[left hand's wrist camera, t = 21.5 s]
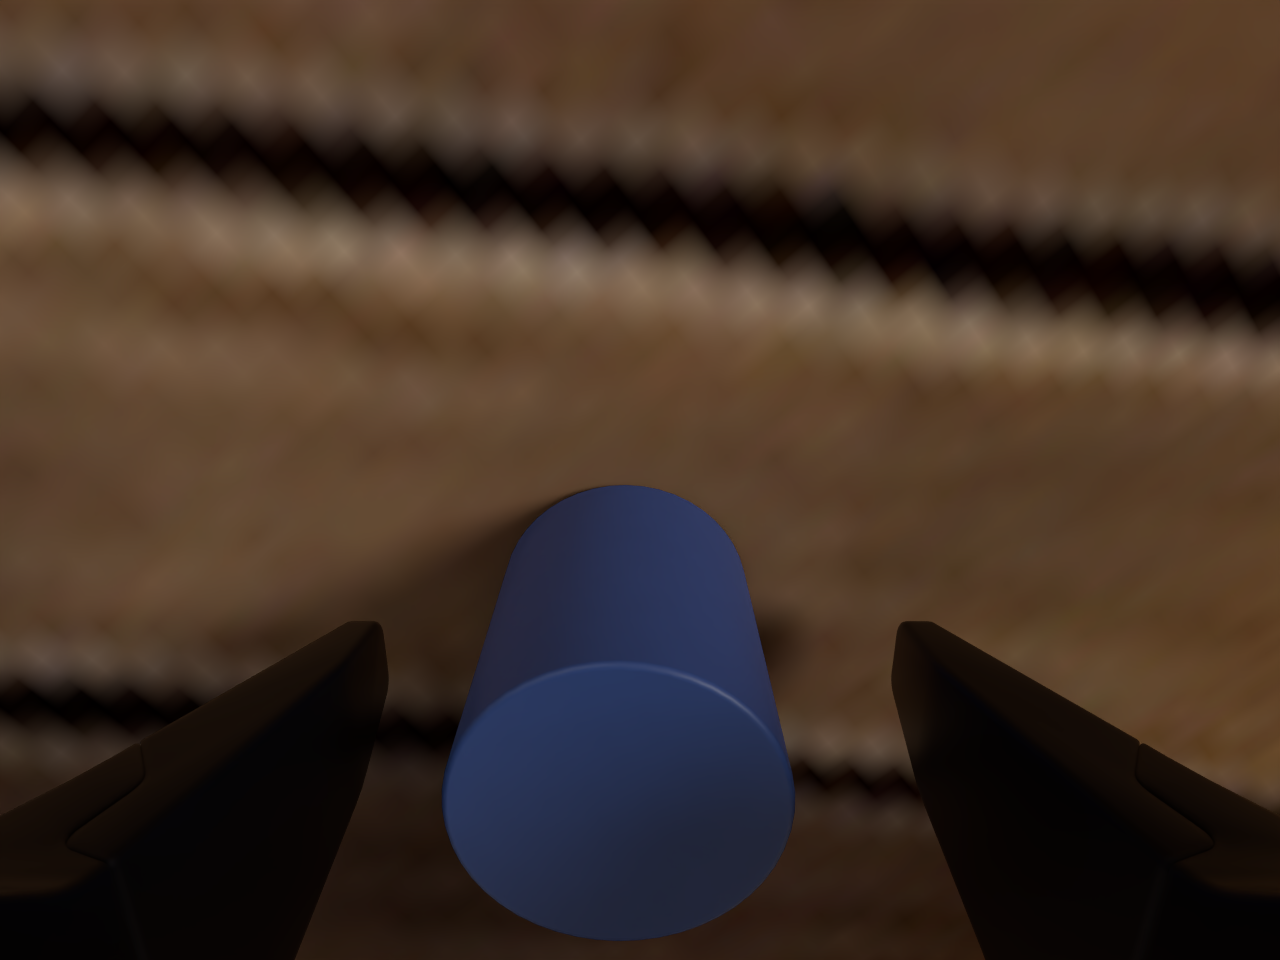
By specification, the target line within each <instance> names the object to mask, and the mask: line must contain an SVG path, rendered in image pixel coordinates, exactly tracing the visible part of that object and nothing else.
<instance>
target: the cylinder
mask: <svg viewBox="0 0 1280 960" xmlns="http://www.w3.org/2000/svg"><path fill="white" fill-rule="evenodd" d="M442 811H443V816H444V822H445V827H446V830H447V833H448V836H449V839H450V842H451V845H452V847H453V849H454V851H455V853H456V855H457V857H458V859H459V860H460V862H461V864H462V865H463V867H464V868H465V869H466V871H467V872H468V873H469V875H470V876H471V878H472V879H473V880H474V881H475V882H476V883H477V884H478V885H479V886H480V887H481V888H482V889H483V890H484V891H485V892H486V893H487V894H488V895H490V896H491V897H492V898H493V899H494V900H496V901H497V902H498V903H499V904H501V905H502V906H504V907H505V908H507V909H509V910H510V911H512V912H513V913H515V914H516V915H518V916H520V917H522V918H524V919H526V920H528V921H530V922H532V923H534V924H537V925H540V926H542V927H545V928H548V929H550V930H553V931H556V932H560V933H564V934H568V935H572V936H576V937H582V938H589V939H595V940H611V941H629V940H644V939H651V938H658V937H663V936H668V935H672V934H676V933H680V932H683V931H686V930H689V929H692V928H695V927H698V926H700V925H702V924H705V923H707V922H709V921H711V920H713V919H715V918H717V917H719V916H721V915H723V914H724V913H726V912H727V911H729V910H731V909H732V908H734V907H736V906H737V905H738V904H739V903H741V902H742V901H743V900H744V899H746V898H747V897H748V896H749V895H751V894H752V893H753V892H754V891H755V890H756V889H757V888H758V887H759V886H760V885H761V884H762V883H763V882H764V880H765V879H766V878H767V876H768V875H769V874H770V872H771V871H772V870H773V868H774V867H775V866H776V864H777V862H778V860H779V858H780V856H781V854H782V853H783V851H784V848H785V846H786V843H787V840H788V837H789V835H790V832H791V829H792V823H793V818H794V813H795V789H794V782H793V775H792V771H791V767H790V763H789V758H788V754H787V750H786V746H785V742H784V737H783V733H782V729H781V725H780V721H779V717H778V712H777V708H776V704H775V700H774V696H773V691H772V687H771V683H770V679H769V675H768V671H767V666H766V662H765V658H764V654H763V650H762V645H761V641H760V637H759V633H758V629H757V625H756V620H755V616H754V612H753V608H752V604H751V599H750V595H749V591H748V587H747V583H746V579H745V574H744V570H743V567H742V564H741V561H740V558H739V555H738V553H737V551H736V549H735V547H734V545H733V543H732V542H731V540H730V539H729V537H728V536H727V534H726V533H725V531H724V530H723V529H722V528H721V527H720V526H719V525H718V524H717V523H716V521H715V520H714V519H712V518H711V517H710V516H709V515H708V514H706V513H705V512H704V511H703V510H701V509H700V508H698V507H697V506H695V505H694V504H692V503H691V502H689V501H687V500H685V499H683V498H680V497H678V496H676V495H674V494H671V493H668V492H665V491H662V490H658V489H653V488H648V487H643V486H630V485H620V486H607V487H601V488H595V489H591V490H588V491H584V492H581V493H578V494H575V495H573V496H571V497H569V498H566V499H564V500H562V501H561V502H559V503H557V504H556V505H554V506H552V507H551V508H549V509H548V510H547V511H545V512H544V513H543V514H542V515H540V516H539V517H538V518H537V519H536V520H535V521H534V522H533V523H532V524H531V525H530V526H529V527H528V528H527V530H526V531H525V532H524V534H523V535H522V537H521V538H520V540H519V541H518V543H517V545H516V547H515V549H514V551H513V553H512V555H511V558H510V561H509V564H508V567H507V570H506V573H505V577H504V580H503V583H502V586H501V590H500V593H499V596H498V599H497V603H496V606H495V609H494V612H493V616H492V619H491V622H490V625H489V629H488V632H487V635H486V638H485V642H484V645H483V648H482V651H481V655H480V658H479V661H478V664H477V668H476V671H475V674H474V677H473V681H472V684H471V687H470V690H469V694H468V697H467V700H466V703H465V707H464V710H463V713H462V716H461V720H460V723H459V726H458V729H457V733H456V736H455V739H454V742H453V746H452V749H451V752H450V755H449V759H448V762H447V765H446V768H445V772H444V779H443V785H442Z"/></svg>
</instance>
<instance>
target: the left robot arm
mask: <svg viewBox="0 0 1280 960" xmlns="http://www.w3.org/2000/svg"><path fill="white" fill-rule="evenodd" d="M891 681H892V691H893V695H894V699H895V703H896V706H897V710H898V714H899V718H900V722H901V726H902V730H903V733H904V737H905V741H906V745H907V749H908V753H909V756H910V760H911V764H912V768H913V772H914V775H915V779H916V782H917V786H918V789H919V792H920V795H921V797H922V800H923V803H924V806H925V808H926V811H927V813H928V816H929V818H930V821H931V823H932V826H933V828H934V831H935V833H936V836H937V838H938V841H939V843H940V846H941V849H942V851H943V854H944V856H945V859H946V861H947V864H948V866H949V869H950V871H951V874H952V876H953V879H954V881H955V884H956V886H957V889H958V891H959V894H960V896H961V899H962V902H963V904H964V907H965V909H966V912H967V914H968V917H969V919H970V922H971V924H972V927H973V929H974V932H975V934H976V937H977V939H978V942H979V944H980V947H981V949H982V952H983V955H984V957H985V960H1280V816H1279V815H1277V814H1275V813H1273V812H1271V811H1269V810H1267V809H1265V808H1263V807H1261V806H1259V805H1257V804H1255V803H1253V802H1251V801H1249V800H1247V799H1246V798H1244V797H1242V796H1240V795H1238V794H1236V793H1234V792H1232V791H1230V790H1228V789H1226V788H1224V787H1222V786H1220V785H1218V784H1216V783H1214V782H1212V781H1210V780H1208V779H1207V778H1205V777H1203V776H1201V775H1199V774H1198V773H1196V772H1194V771H1192V770H1190V769H1189V768H1187V767H1185V766H1183V765H1181V764H1179V763H1178V762H1176V761H1174V760H1172V759H1170V758H1169V757H1167V756H1165V755H1163V754H1162V753H1160V752H1158V751H1157V750H1155V749H1153V748H1151V747H1150V746H1148V745H1146V744H1140V743H1139V741H1138V740H1137V739H1135V738H1134V737H1132V736H1130V735H1128V734H1127V733H1125V732H1123V731H1121V730H1120V729H1118V728H1116V727H1114V726H1113V725H1111V724H1109V723H1107V722H1106V721H1104V720H1102V719H1101V718H1099V717H1097V716H1095V715H1094V714H1092V713H1090V712H1088V711H1087V710H1085V709H1083V708H1081V707H1080V706H1078V705H1076V704H1074V703H1073V702H1071V701H1069V700H1067V699H1066V698H1064V697H1062V696H1060V695H1059V694H1057V693H1055V692H1053V691H1052V690H1050V689H1048V688H1046V687H1045V686H1043V685H1041V684H1039V683H1038V682H1036V681H1034V680H1032V679H1031V678H1029V677H1027V676H1025V675H1024V674H1022V673H1020V672H1018V671H1017V670H1015V669H1013V668H1011V667H1010V666H1008V665H1006V664H1004V663H1003V662H1001V661H999V660H998V659H996V658H994V657H992V656H991V655H989V654H987V653H985V652H984V651H982V650H980V649H978V648H977V647H975V646H973V645H971V644H970V643H968V642H966V641H964V640H963V639H961V638H959V637H957V636H956V635H954V634H952V633H950V632H949V631H947V630H945V629H943V628H942V627H940V626H938V625H936V624H935V623H933V622H929V621H906V622H902V623H901V624H900V625H899V627H898V630H897V636H896V643H895V651H894V659H893V667H892V675H891ZM388 682H389V675H388V666H387V658H386V651H385V643H384V635H383V630H382V627H381V625H380V624H379V623H378V622H374V621H351V622H347V623H345V624H344V625H342V626H340V627H338V628H337V629H335V630H333V631H331V632H330V633H328V634H326V635H324V636H323V637H321V638H319V639H317V640H316V641H314V642H312V643H310V644H309V645H307V646H305V647H303V648H302V649H300V650H298V651H296V652H295V653H293V654H291V655H290V656H288V657H286V658H284V659H283V660H281V661H279V662H277V663H276V664H274V665H272V666H270V667H269V668H267V669H265V670H263V671H262V672H260V673H258V674H256V675H255V676H253V677H251V678H249V679H248V680H246V681H244V682H242V683H241V684H239V685H237V686H235V687H234V688H232V689H230V690H228V691H227V692H225V693H223V694H221V695H220V696H218V697H216V698H214V699H213V700H211V701H209V702H208V703H206V704H204V705H202V706H201V707H199V708H197V709H195V710H194V711H192V712H190V713H188V714H187V715H185V716H183V717H181V718H180V719H178V720H176V721H174V722H173V723H171V724H169V725H167V726H166V727H164V728H162V729H160V730H159V731H157V732H155V733H153V734H152V735H150V736H148V737H146V738H145V739H143V740H142V741H141V746H140V744H134V745H132V746H130V747H129V748H127V749H125V750H124V751H122V752H120V753H118V754H117V755H115V756H113V757H112V758H110V759H108V760H106V761H104V762H102V763H101V764H99V765H97V766H95V767H93V768H92V769H90V770H88V771H86V772H84V773H83V774H81V775H79V776H77V777H75V778H73V779H72V780H70V781H68V782H66V783H64V784H62V785H60V786H58V787H56V788H54V789H52V790H50V791H48V792H46V793H44V794H42V795H40V796H38V797H37V798H35V799H33V800H31V801H29V802H27V803H25V804H23V805H21V806H19V807H17V808H15V809H13V810H11V811H9V812H7V813H5V814H3V815H1V816H0V960H295V957H296V955H297V952H298V950H299V947H300V945H301V942H302V940H303V937H304V935H305V932H306V929H307V927H308V924H309V922H310V919H311V917H312V914H313V912H314V909H315V907H316V904H317V902H318V899H319V897H320V894H321V892H322V889H323V887H324V884H325V882H326V879H327V876H328V874H329V871H330V869H331V866H332V864H333V861H334V859H335V856H336V854H337V851H338V849H339V846H340V844H341V841H342V839H343V836H344V834H345V831H346V828H347V826H348V823H349V821H350V818H351V816H352V813H353V811H354V808H355V806H356V803H357V800H358V798H359V795H360V792H361V789H362V786H363V783H364V779H365V776H366V772H367V768H368V764H369V761H370V757H371V753H372V749H373V745H374V741H375V737H376V734H377V730H378V726H379V722H380V718H381V714H382V711H383V707H384V703H385V699H386V695H387V691H388ZM1139 744H1140V746H1139Z"/></svg>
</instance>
